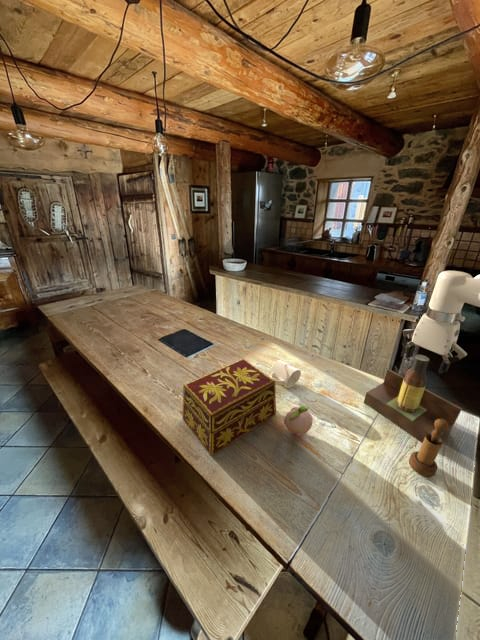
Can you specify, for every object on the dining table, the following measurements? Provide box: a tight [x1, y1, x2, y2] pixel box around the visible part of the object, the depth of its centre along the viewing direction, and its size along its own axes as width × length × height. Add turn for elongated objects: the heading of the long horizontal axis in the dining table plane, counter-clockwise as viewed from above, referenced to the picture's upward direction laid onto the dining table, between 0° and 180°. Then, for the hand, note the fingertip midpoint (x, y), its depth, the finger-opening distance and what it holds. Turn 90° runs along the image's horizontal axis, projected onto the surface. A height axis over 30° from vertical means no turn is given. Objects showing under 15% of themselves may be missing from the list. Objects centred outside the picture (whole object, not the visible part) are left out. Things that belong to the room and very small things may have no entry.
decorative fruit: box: [283, 405, 313, 435], centre depth 86 cm, size 9×8×10 cm
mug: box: [269, 359, 302, 389], centre depth 109 cm, size 12×9×8 cm
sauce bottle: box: [397, 354, 430, 412], centre depth 88 cm, size 6×6×20 cm
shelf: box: [363, 368, 463, 444], centre depth 92 cm, size 24×12×11 cm, turn 32°
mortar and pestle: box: [408, 419, 449, 478], centre depth 73 cm, size 7×6×18 cm
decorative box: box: [181, 358, 277, 456], centre depth 90 cm, size 28×19×15 cm
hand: (424, 364), depth 84 cm, fingers open, 9 cm apart
